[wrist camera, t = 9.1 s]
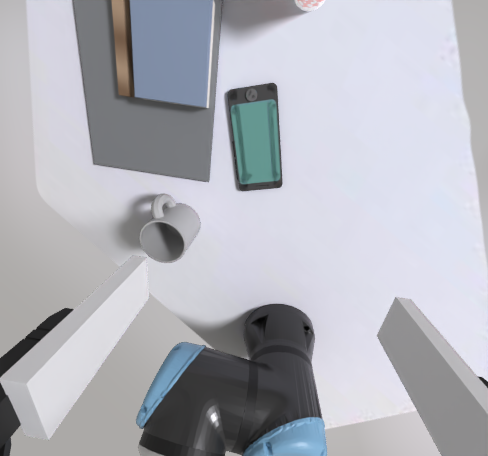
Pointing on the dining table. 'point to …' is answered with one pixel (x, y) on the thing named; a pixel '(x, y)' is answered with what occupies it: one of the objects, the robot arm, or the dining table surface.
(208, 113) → the mat
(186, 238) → the cup
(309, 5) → the beverage cup
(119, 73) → the strip
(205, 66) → the blue-grey flat block
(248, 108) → the smartphone
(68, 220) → the dining table surface
